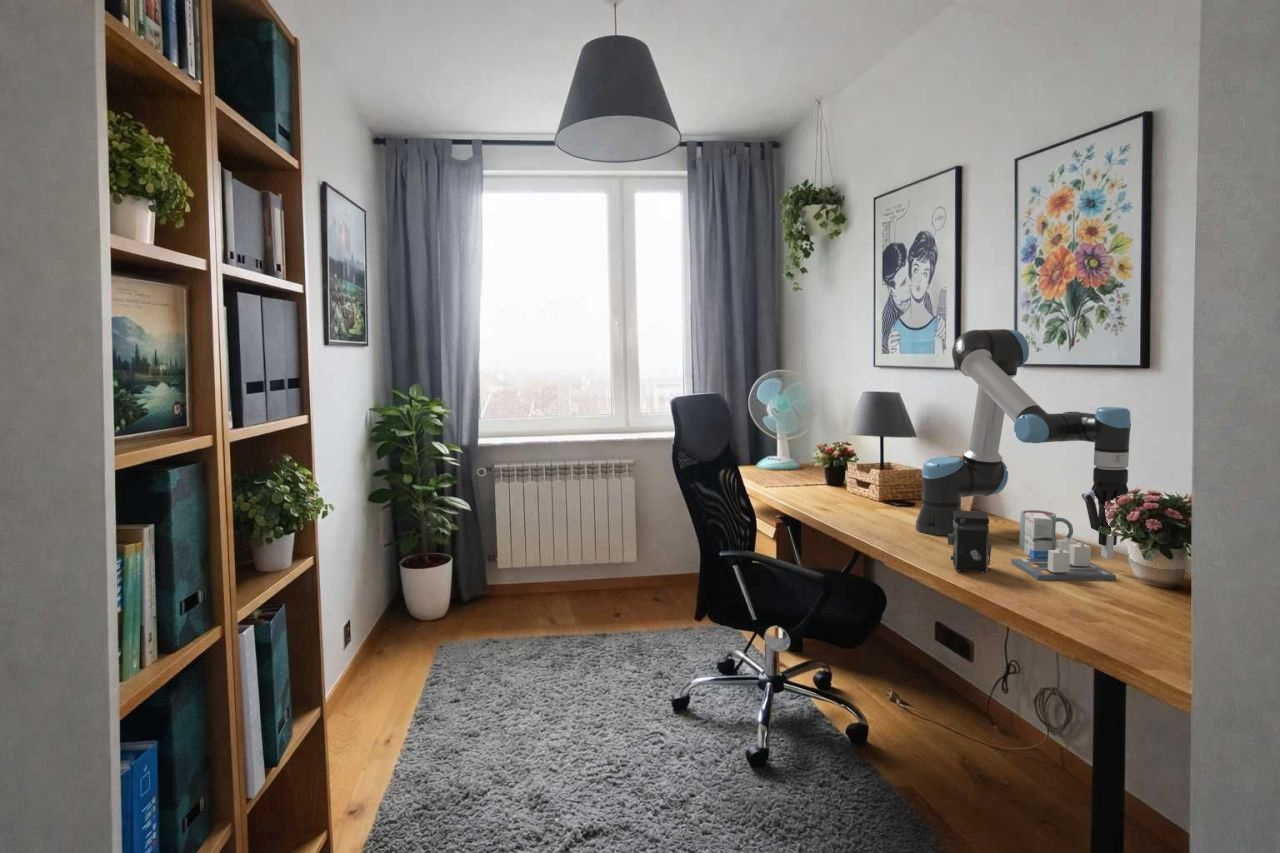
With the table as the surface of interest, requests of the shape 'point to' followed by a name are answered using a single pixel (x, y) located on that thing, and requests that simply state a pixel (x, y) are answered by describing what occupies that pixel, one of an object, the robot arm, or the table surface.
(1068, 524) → the mug
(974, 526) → the camera
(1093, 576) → the grey flat board
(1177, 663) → the table surface
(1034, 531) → the ink box
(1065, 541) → the tab
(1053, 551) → the tab
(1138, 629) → the table surface
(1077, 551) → the tab
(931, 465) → the robot arm
